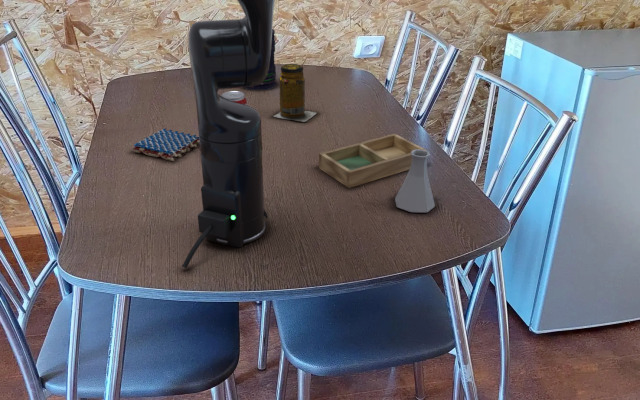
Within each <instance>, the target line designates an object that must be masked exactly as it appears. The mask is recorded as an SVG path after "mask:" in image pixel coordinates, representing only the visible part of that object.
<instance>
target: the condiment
mask: <svg viewBox="0 0 640 400" xmlns="http://www.w3.org/2000/svg"><path fill="white" fill-rule="evenodd" d="M305 82H306V79H305V76H304V67H303V66H302V65H301V64H297V63H287V64H283V65H282V66H281V67H280V77H279V87H278V88H279V112H278V113H276V114H275V115H273V116H272V117H273V118H278V119H282V120H289V121H290V120H292V121H297V122H303V123H306V122H307V121H309V120H310V119H311V118H313V117H314V116H315V115H316V114H317V112H315V111H310V110H306V109H305V108H306V107H305V106H306V104H305V103H306V99H305V98H306V95H305V94H306V93H305V92H306V89H305V88H306V83H305Z"/></svg>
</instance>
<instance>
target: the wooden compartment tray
mask: <svg viewBox="0 0 640 400" xmlns="http://www.w3.org/2000/svg"><path fill="white" fill-rule="evenodd" d="M414 149H423V150H426V151H428V150H427V149H426V148H424V147H422V146H420V145H418V144H416V143H414V142H412V141H410V140H408V139H407V138H404V137H402V136H400V135H398V134H397V133H392V134H388V135H384V136H380V137H377V138H371V139H369V140H365V141H361V142H358V143H353V144H349V145H346V146H341V147H338V148H335V149H330V150H326V151H323V152H320V153H318V169H319V170H321V171H322V172H324V173H325V174H326V175H328V176H330V177H331V178H332V179H334V180H336V181H337V182H339V183H340V184H342V185H343V186H345V187H346V188H347V189H352V188H354V187H358V186H361V185H365V184H368V183H370V182H373V181H377V180H380V179H384V178H386V177H389V176H393V175H396V174H399V173H403V172H406V171H409V170H410V166H411V163H412V155H411V151H413V150H414Z"/></svg>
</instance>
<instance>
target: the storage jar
mask: <svg viewBox="0 0 640 400" xmlns="http://www.w3.org/2000/svg"><path fill="white" fill-rule="evenodd" d="M275 32H276V31H275V29H274V28H272V41H271V55H270V64H269V70H268V74H267V76H266V78H265V80H264V81H263V82H262V83H261V84H259V85H256V86H252V87H243V89H245V90H250V91H267V90H271V89H273V88H275V87H276V85H277V82H276V78H277V71H276V69H277V68H276V64H275V52H276V36H275V35H276V34H275Z"/></svg>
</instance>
